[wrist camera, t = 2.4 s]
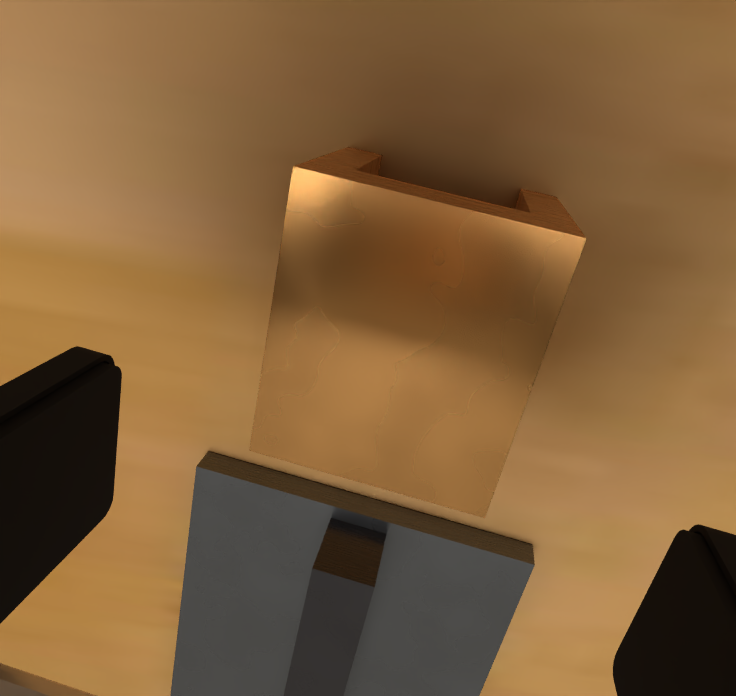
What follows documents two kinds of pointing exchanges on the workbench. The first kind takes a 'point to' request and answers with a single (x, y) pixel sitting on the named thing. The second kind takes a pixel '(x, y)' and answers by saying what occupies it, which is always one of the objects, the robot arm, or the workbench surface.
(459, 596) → the rail
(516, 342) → the tan wooden block
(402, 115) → the workbench surface
